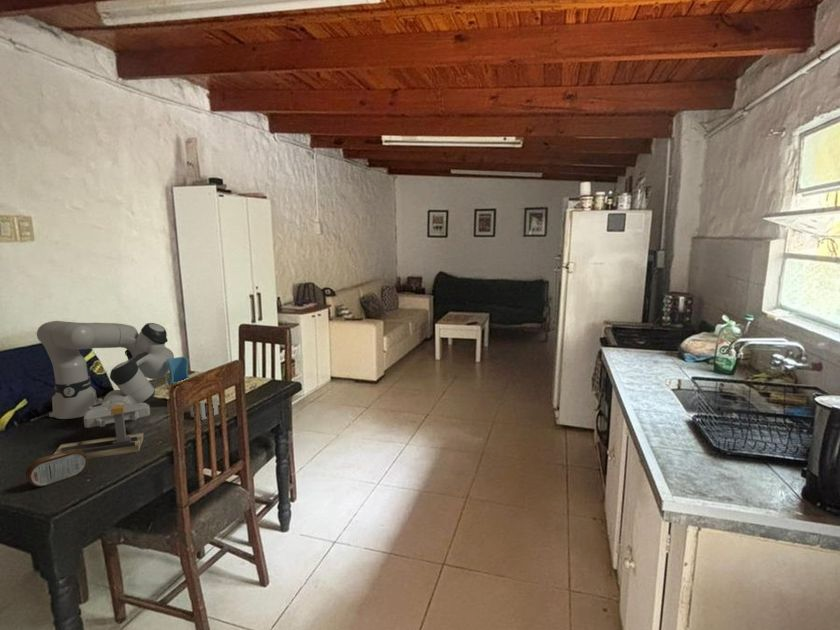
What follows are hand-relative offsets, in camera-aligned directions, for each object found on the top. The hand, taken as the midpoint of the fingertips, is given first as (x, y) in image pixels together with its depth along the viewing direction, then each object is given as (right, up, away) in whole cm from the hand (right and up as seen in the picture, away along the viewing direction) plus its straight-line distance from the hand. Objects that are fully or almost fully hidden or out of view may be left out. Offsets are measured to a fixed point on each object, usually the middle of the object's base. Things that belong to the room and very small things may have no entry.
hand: (118, 421), depth 166 cm
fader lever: (+3, -7, -3) cm, 8 cm away
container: (+17, -4, +29) cm, 34 cm away
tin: (-4, -13, -22) cm, 26 cm away
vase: (0, -2, +44) cm, 44 cm away
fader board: (-5, -10, -2) cm, 11 cm away
